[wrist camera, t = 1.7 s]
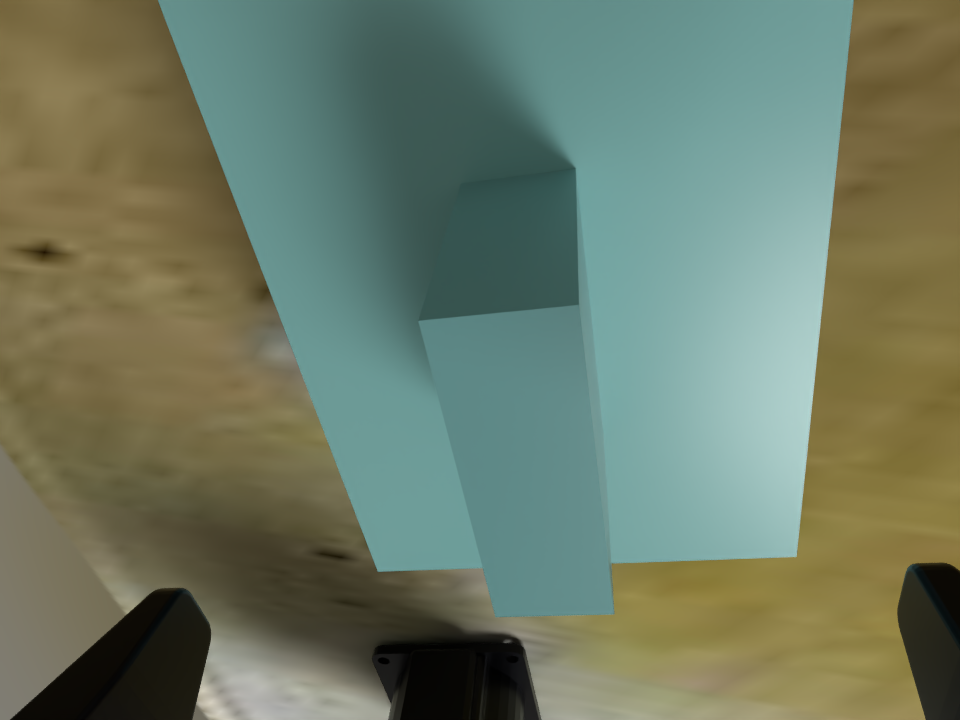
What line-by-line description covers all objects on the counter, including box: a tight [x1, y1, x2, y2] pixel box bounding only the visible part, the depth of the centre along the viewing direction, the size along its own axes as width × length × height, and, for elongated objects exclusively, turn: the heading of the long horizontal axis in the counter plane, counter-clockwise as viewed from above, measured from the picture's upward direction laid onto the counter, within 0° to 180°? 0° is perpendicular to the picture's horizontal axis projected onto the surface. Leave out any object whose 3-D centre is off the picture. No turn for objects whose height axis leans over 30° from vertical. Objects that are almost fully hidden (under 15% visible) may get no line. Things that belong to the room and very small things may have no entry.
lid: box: [158, 0, 853, 617], centre depth 13 cm, size 14×10×7 cm
